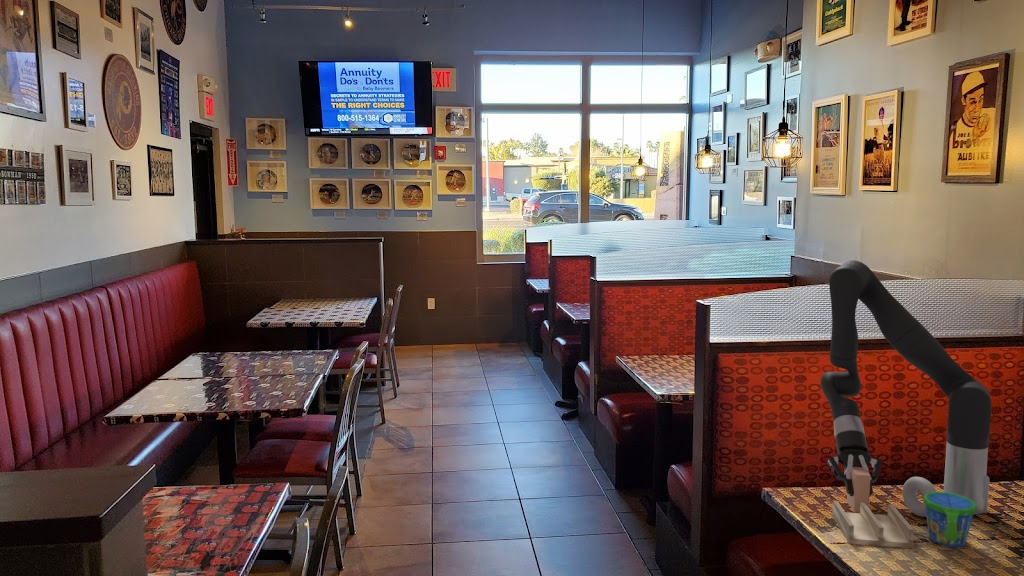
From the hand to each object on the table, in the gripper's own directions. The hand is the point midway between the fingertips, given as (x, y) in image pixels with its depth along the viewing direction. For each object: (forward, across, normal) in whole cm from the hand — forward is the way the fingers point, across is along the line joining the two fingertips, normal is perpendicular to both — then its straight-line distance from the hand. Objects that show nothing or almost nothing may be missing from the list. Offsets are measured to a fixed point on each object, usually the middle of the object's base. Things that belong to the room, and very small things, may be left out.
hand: (860, 495), depth 194 cm
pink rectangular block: (+1, 0, +4) cm, 5 cm away
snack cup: (+14, +15, -8) cm, 22 cm away
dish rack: (+12, -1, -6) cm, 14 cm away
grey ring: (+4, +14, +2) cm, 15 cm away
